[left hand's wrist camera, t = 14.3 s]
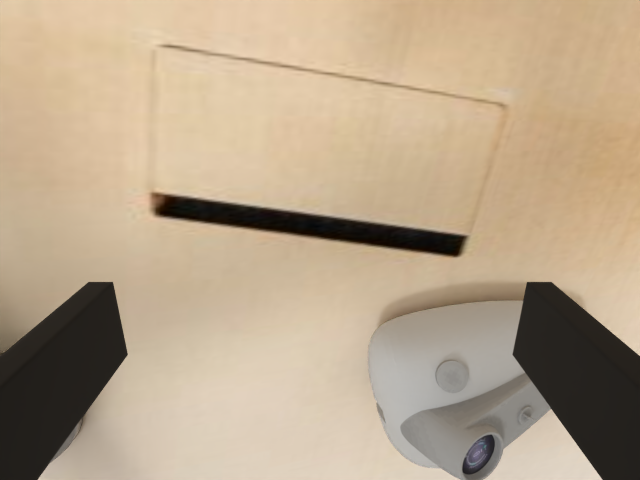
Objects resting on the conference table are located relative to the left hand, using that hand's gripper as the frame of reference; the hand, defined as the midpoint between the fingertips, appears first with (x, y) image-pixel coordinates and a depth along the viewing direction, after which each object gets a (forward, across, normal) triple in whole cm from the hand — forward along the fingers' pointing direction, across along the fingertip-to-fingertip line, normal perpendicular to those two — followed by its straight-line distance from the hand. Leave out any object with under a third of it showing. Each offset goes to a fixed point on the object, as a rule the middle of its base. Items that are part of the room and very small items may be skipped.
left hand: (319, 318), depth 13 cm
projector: (+28, -17, +21) cm, 38 cm away
